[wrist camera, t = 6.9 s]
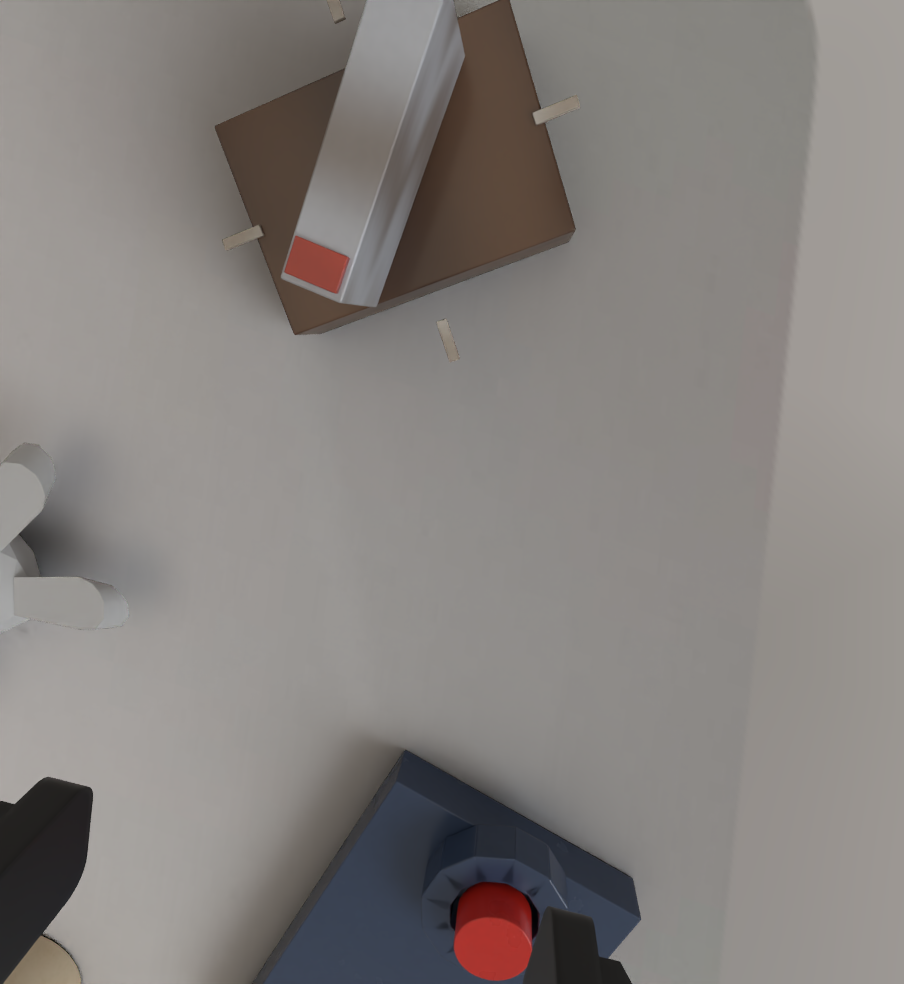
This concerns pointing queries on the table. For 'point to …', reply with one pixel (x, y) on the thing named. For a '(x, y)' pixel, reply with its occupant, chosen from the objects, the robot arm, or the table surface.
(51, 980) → the candle
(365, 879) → the button block
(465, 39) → the tap base
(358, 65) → the light grey narrow block
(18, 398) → the table surface
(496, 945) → the button
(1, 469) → the bunny figurine
